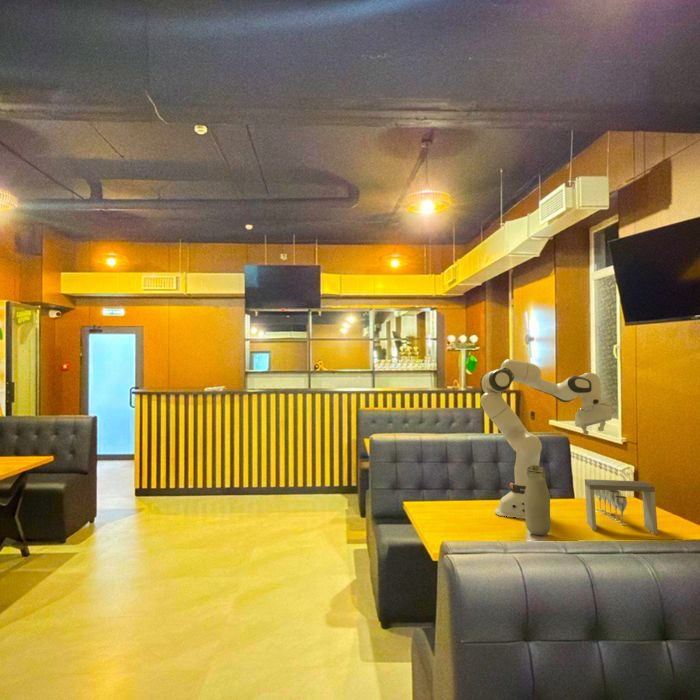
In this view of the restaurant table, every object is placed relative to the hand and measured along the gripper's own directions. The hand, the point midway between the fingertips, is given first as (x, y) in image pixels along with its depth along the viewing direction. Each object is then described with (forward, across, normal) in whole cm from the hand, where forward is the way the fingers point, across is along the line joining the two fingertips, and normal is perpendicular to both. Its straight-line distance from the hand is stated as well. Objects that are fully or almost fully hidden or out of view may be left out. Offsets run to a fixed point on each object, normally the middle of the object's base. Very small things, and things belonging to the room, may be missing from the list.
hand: (593, 432), depth 221 cm
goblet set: (+36, -6, +13) cm, 39 cm away
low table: (+42, +8, +4) cm, 43 cm away
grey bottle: (+52, +3, -32) cm, 61 cm away
